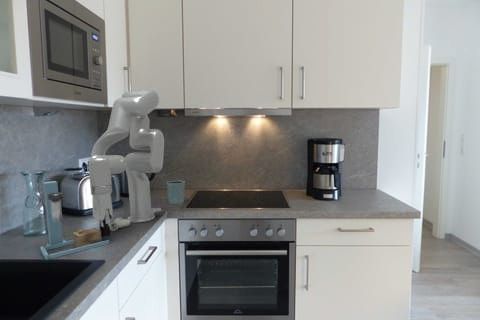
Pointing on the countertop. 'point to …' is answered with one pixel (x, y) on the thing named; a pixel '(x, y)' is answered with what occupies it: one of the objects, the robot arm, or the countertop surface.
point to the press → (58, 229)
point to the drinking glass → (176, 191)
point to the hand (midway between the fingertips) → (105, 236)
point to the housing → (87, 237)
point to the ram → (56, 206)
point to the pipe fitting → (119, 224)
